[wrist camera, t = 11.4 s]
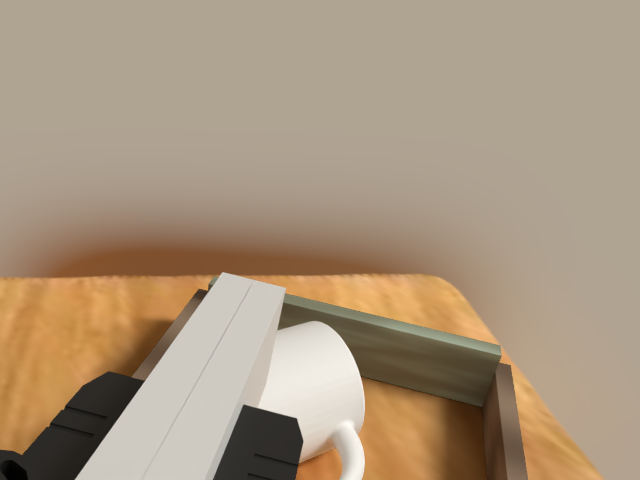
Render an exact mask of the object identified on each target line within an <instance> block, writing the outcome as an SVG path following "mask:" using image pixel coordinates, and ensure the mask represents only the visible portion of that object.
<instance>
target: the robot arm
mask: <svg viewBox="0 0 640 480" xmlns="http://www.w3.org/2000/svg"><path fill="white" fill-rule="evenodd" d="M285 290H286V288H284V287H280V286H276V285H272V284H268V283H264V282H260V281H256V280H252V279H248V278H244V277H240V276H236V275H232V274H228V273H222V274H221V275H220V277H219V278H218V279H217V281H216V282H215V284H214V285H213V286H212V288H211V289H210V291H209V292H208V293H207V295H206V296H205V298H204V299H203V301H202V302H201V303H200V305H199V306H198V308H197V309H196V310H195V312H194V313H193V315H192V316H191V317H190V319H189V320H188V322H187V323H186V324H185V326H184V327H183V329H182V330H181V331H180V333H179V334H178V336H177V337H176V338H175V340H174V341H173V343H172V344H171V345H170V347H169V348H168V350H167V351H166V352H165V354H164V355H163V357H162V358H161V359H160V361H159V362H158V364H157V365H156V367H155V368H154V369H153V371H152V372H151V374H150V375H149V376H148V378H147V379H146V381H144V380H140V379H136V378H132V377H129V376H125V375H121V374H117V373H113V372H107V373H105V374H103V375H101V376H100V377H98V378H96V379H94V380H92V381H91V382H89V383H87V384H85V385H83V386H82V387H81V389H80V390H79V391H78V392H77V393H76V394H75V395H74V397H73V398H72V399H71V400H70V401H69V402H68V403H67V405H66V406H65V409H64V410H61V411H60V413H59V414H58V415H57V416H56V417H55V418H54V419H53V420H52V422H51V423H50V426H49V427H46V428H45V430H44V431H43V432H42V433H41V434H40V435H39V436H38V438H37V439H36V440H35V441H34V442H33V443H32V444H31V446H30V447H29V448H28V449H27V450H26V451H25V452H24V454H23V455H20V454H18V453H16V452H14V451H7V450H0V480H295V478H296V473H297V468H298V464H299V460H300V455H301V451H302V446H303V442H304V441H303V437H302V434H301V430H300V427H299V424H298V420H297V418H294V417H290V416H286V415H282V414H279V413H275V412H271V411H267V410H263V409H259V408H258V405H259V402H260V399H261V397H262V394H263V391H264V388H265V386H266V382H267V377H268V372H269V367H270V363H271V358H272V353H273V348H274V343H275V338H276V334H277V329H278V324H279V319H280V314H281V310H282V305H283V300H284V295H285Z"/></svg>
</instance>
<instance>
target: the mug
mask: <svg viewBox="0 0 640 480" xmlns="http://www.w3.org/2000/svg"><path fill="white" fill-rule="evenodd" d="M258 408H259V409H263V410H267V411H271V412H275V413H279V414H282V415H286V416H290V417H294V418H297V420H298V424H299V427H300V430H301V434H302V437H303V441H304V442H303V446H302V451H301V455H300V460H299V463H302V462H304V461H306V460H309V459H311V458H313V457H316V456H318V455H320V454H323V453H325V452H327V451H330V450H332V449H334V448H336V449H337V451H338V453H339V456H340V458H341V461H342V474H341V477H340V479H339V480H362V477H363V473H364V467H365V458H364V451H363V447H362V444H361V442H360V439H359V437H358V434H359V432H360V430H361V427H362V424H363V420H364V414H365V398H364V390H363V385H362V380H361V377H360V373H359V370H358V367H357V365H356V362H355V360H354V358H353V356H352V354H351V352H350V350H349V348H348V347H347V345H346V344H345V342H344V341H343V339H342V338H341V337H340V336H339V335H338V334H337V333H336V332H335V331H334V330H333V329H332V328H331V327H329V326H328V325H326V324H324V323H322V322H318V321H310V322H307V323H303V324H299V325H295V326H292V327H288V328H284V329H281V330H277V334H276V338H275V343H274V348H273V353H272V358H271V363H270V367H269V372H268V377H267V382H266V386H265V388H264V391H263V394H262V397H261V399H260V402H259V405H258Z"/></svg>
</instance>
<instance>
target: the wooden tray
mask: <svg viewBox="0 0 640 480" xmlns="http://www.w3.org/2000/svg"><path fill="white" fill-rule="evenodd" d="M218 278H219V277H216V276H214V278H213V279H212V280H211V282H210V283H209V286H208V291H206V290H202V289H198V291H197V292H196V293H195V295H194V296H193V297H192V299H191V300H190V301H189V303H188V304H187V305H186V306H185V308H184V309H183V310H182V312H181V313H180V314H179V316H178V317H177V318H176V320H175V321H174V322H173V323H172V325H171V326H170V327H169V329H168V330H167V331H166V333H165V334H164V335H163V337H162V338H161V339H160V340H159V342H158V343H157V344H156V346H155V347H154V348H153V350H152V351H151V352H150V353H149V355H148V356H147V357H146V359H145V360H144V361H143V363H142V364H141V365H140V367H139V368H138V369H137V370H136V372H135V373H134V374H133V376H132V378H136V379H140V380H144V381H146V379H147V378H148V376H149V375H150V374H151V372H152V371H153V369H154V368H155V367H156V365H157V364H158V362H159V361H160V359H161V358H162V357H163V355H164V354H165V352H166V351H167V350H168V348H169V347H170V345H171V344H172V343H173V341H174V340H175V338H176V337H177V336H178V334H179V333H180V331H181V330H182V329H183V327H184V326H185V324H186V323H187V322H188V320H189V319H190V317H191V316H192V315H193V313H194V312H195V310H196V309H197V308H198V306H199V305H200V303H201V302H202V301H203V299H204V298H205V296H206V295H207V293H208V292H209V291H210V289H211V288H212V286H213V285H214V284H215V282H216V281H217V279H218ZM310 321H318V322H322V323H324V324H326V325H328V326H329V327H331V328H332V329H333V330H334V331H335V332H336V333H337V334H338V335H339V336H340V337H341V338H342V339H343V341H344V342H345V344H346V345H347V347H348V348H349V350H350V352H351V354H352V356H353V358H354V360H355V362H356V365H357V367H358V370H359V373H360V376H362V377H366V378H370V379H374V380H378V381H382V382H386V383H390V384H393V385H397V386H401V387H405V388H409V389H413V390H417V391H421V392H425V393H429V394H432V395H436V396H440V397H444V398H448V399H452V400H456V401H460V402H464V403H468V404H471V405H475V406H479V407H482V416H483V430H484V443H485V457H486V471H487V480H528V476H527V470H526V463H525V456H524V450H523V443H522V437H521V430H520V424H519V417H518V411H517V404H516V398H515V391H514V385H513V378H512V371H511V365H507V364H503V363H499V361H500V359H501V356H502V355H501V347H500V345H496V344H492V343H488V342H484V341H479V340H475V339H471V338H467V337H463V336H459V335H455V334H451V333H446V332H442V331H438V330H434V329H430V328H426V327H422V326H418V325H414V324H409V323H405V322H401V321H397V320H393V319H389V318H385V317H381V316H376V315H372V314H368V313H364V312H360V311H356V310H352V309H348V308H343V307H339V306H335V305H331V304H327V303H323V302H319V301H315V300H310V299H306V298H302V297H298V296H294V295H290V294H286V293H285V295H284V300H283V305H282V310H281V314H280V319H279V324H278V329H277V330H281V329H284V328H288V327H292V326H295V325H299V324H303V323H307V322H310Z"/></svg>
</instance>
